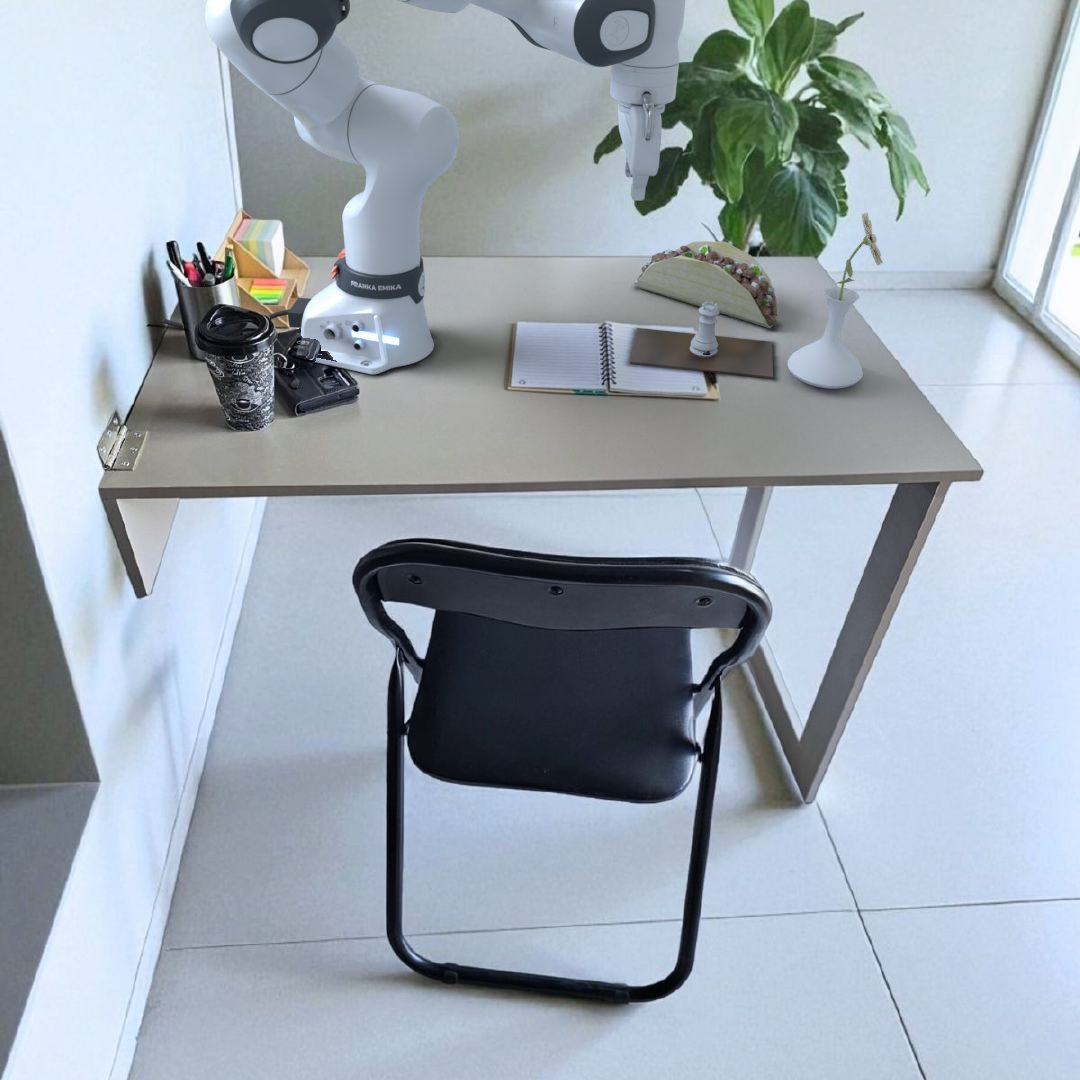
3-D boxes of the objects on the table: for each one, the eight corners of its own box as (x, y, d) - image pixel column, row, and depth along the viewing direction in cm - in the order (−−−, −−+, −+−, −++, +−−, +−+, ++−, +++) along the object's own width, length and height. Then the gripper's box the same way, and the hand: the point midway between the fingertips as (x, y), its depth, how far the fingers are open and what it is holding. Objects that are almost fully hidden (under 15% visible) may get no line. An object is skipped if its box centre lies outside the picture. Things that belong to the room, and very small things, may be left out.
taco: (762, 338, 171) (773, 279, 165) (622, 294, 183) (627, 238, 177) (787, 317, 178) (798, 261, 171) (650, 276, 189) (656, 222, 183)
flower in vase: (845, 403, 155) (886, 241, 140) (774, 381, 160) (805, 221, 144) (873, 369, 164) (914, 213, 149) (804, 349, 169) (837, 196, 153)
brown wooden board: (630, 363, 163) (630, 361, 162) (636, 329, 172) (637, 327, 172) (772, 379, 160) (773, 376, 160) (771, 343, 170) (771, 341, 169)
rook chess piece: (721, 357, 164) (729, 310, 160) (695, 359, 164) (701, 312, 159) (710, 344, 168) (717, 298, 163) (684, 346, 167) (691, 300, 162)
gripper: (676, 105, 130) (664, 214, 139) (658, 65, 147) (648, 164, 155) (626, 104, 130) (617, 213, 139) (613, 63, 146) (606, 163, 155)
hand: (634, 187), depth 147 cm, fingers open, 8 cm apart
